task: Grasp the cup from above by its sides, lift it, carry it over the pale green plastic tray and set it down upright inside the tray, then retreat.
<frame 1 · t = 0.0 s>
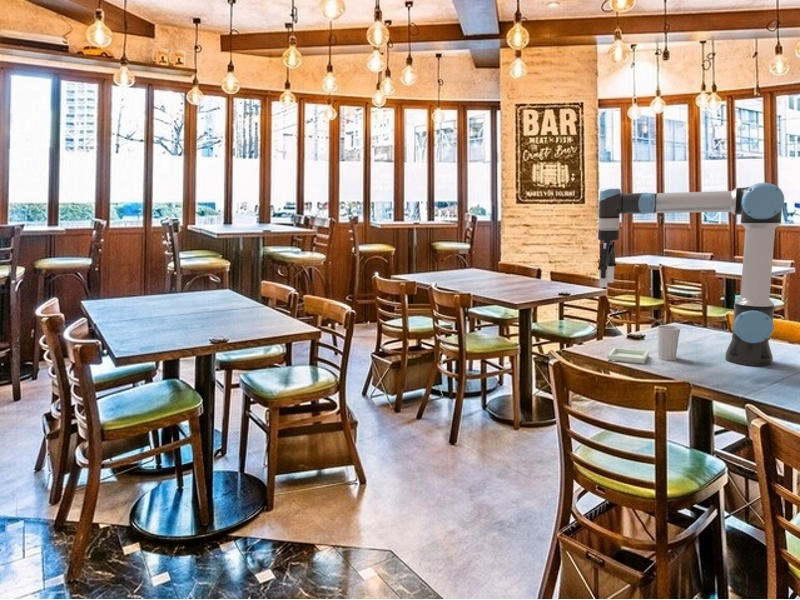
hand: (606, 284, 223), 28 cm above the table, fingers open, 13 cm apart
tray: (628, 358, 222), on the table
cup: (666, 358, 221), on the table
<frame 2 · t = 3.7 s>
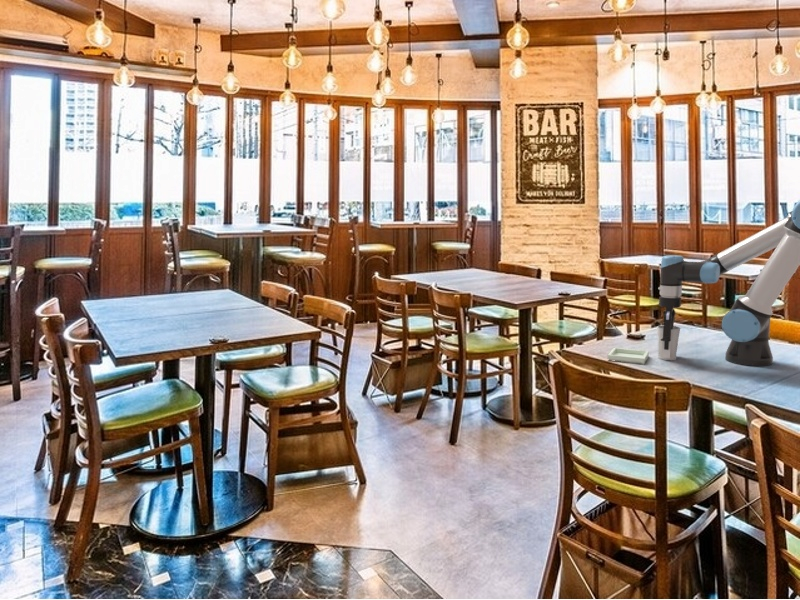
hand: (667, 355, 221), 1 cm above the table, fingers closed on cup, 7 cm apart
cup: (666, 358, 221), on the table, touching gripper
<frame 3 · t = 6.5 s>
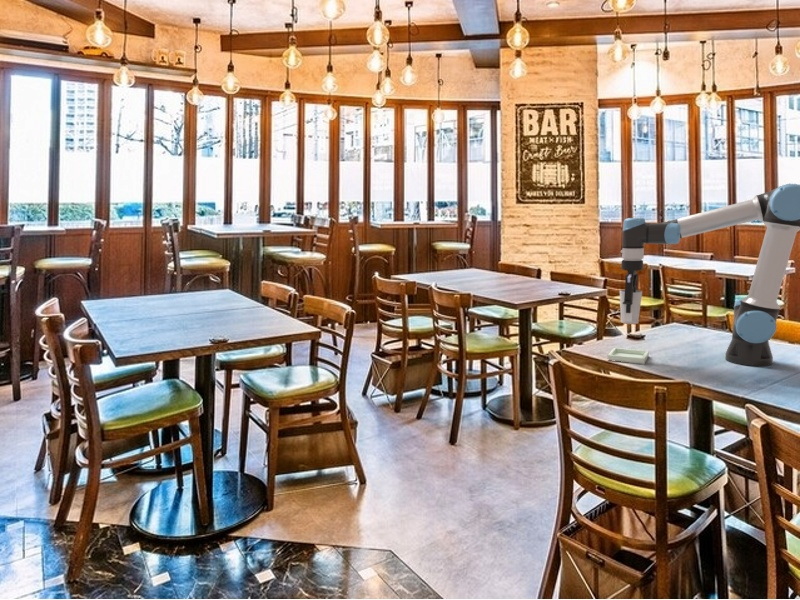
hand: (629, 319, 219), 15 cm above the table, fingers closed on cup, 7 cm apart
cup: (629, 322, 220), point 14 cm above the table, touching gripper
when the fingers open (4 cm above the table, at t = 9.3 s): cup drops 2 cm, resting on tray.
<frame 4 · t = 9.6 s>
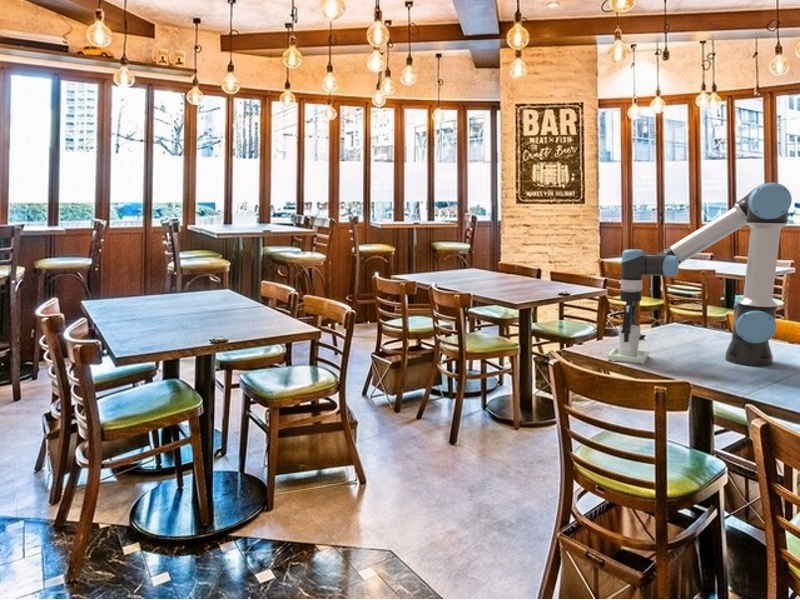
hand: (628, 346, 221), 5 cm above the table, fingers open, 11 cm apart
cup: (628, 357, 221), resting on tray
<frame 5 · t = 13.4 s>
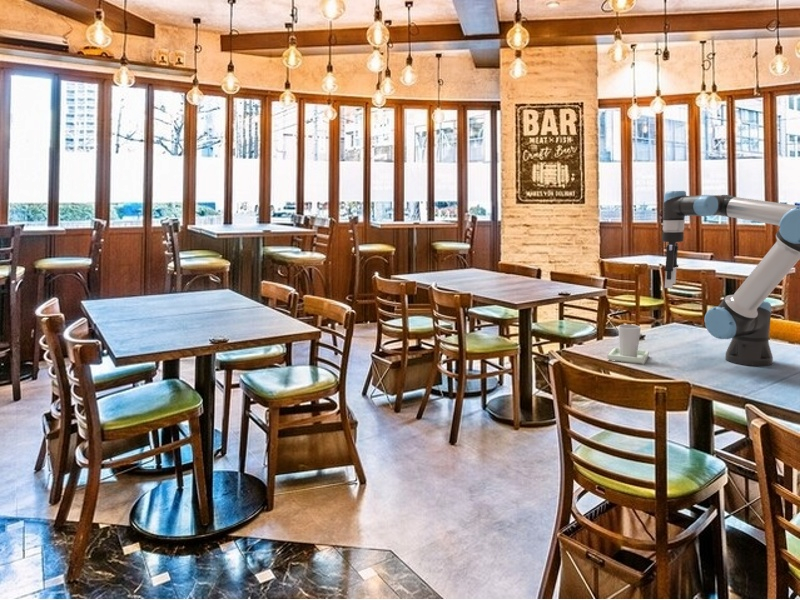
hand: (670, 285, 226), 27 cm above the table, fingers open, 13 cm apart
nothing on the table moved.
at the end: cup inside the target area on the tray (0.2 cm from its centre), point 0.4 cm above the tray's base; cup tilted 0°; the gripper is holding nothing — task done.
